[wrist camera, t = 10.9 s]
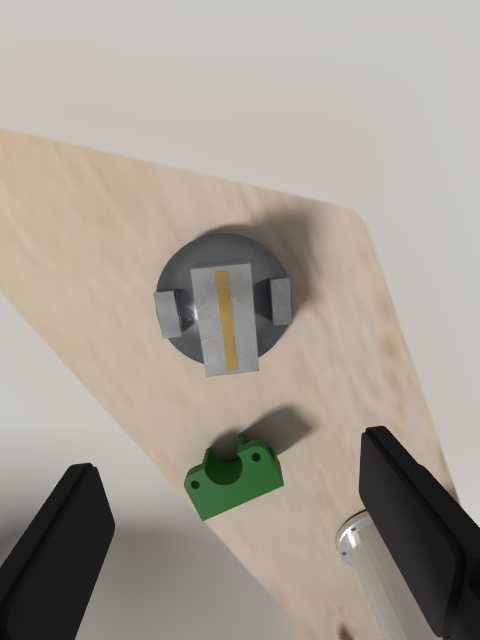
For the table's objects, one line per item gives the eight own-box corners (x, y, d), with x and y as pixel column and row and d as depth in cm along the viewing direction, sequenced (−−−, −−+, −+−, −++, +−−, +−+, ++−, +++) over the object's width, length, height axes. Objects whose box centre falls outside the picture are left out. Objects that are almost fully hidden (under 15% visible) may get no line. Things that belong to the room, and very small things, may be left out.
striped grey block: (244, 258, 27) (250, 263, 22) (251, 346, 30) (259, 371, 24) (196, 263, 27) (189, 269, 21) (209, 351, 30) (206, 377, 24)
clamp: (248, 415, 40) (273, 433, 32) (265, 449, 41) (295, 476, 32) (177, 463, 36) (184, 499, 28) (196, 500, 37) (209, 546, 28)
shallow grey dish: (285, 227, 28) (292, 226, 25) (291, 353, 33) (297, 364, 30) (146, 241, 28) (137, 242, 25) (171, 368, 32) (166, 380, 29)
